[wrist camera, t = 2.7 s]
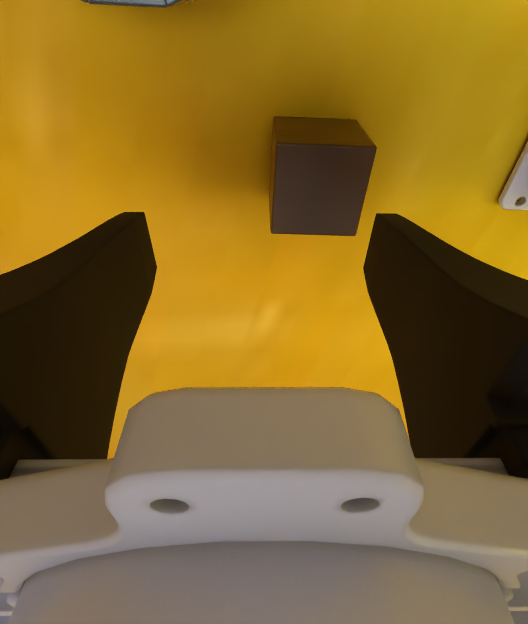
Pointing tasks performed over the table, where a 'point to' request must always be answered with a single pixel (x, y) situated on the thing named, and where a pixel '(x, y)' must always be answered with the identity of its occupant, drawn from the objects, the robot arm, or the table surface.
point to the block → (318, 175)
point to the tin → (141, 2)
